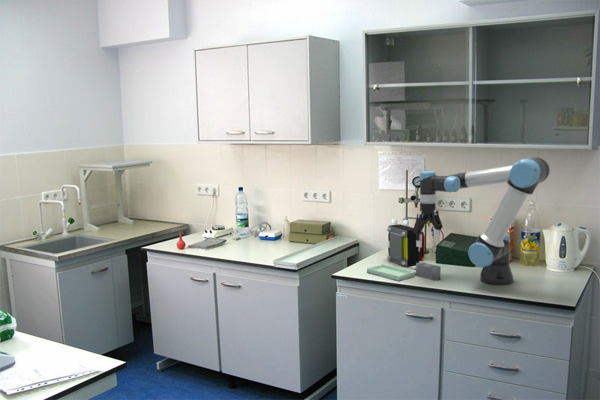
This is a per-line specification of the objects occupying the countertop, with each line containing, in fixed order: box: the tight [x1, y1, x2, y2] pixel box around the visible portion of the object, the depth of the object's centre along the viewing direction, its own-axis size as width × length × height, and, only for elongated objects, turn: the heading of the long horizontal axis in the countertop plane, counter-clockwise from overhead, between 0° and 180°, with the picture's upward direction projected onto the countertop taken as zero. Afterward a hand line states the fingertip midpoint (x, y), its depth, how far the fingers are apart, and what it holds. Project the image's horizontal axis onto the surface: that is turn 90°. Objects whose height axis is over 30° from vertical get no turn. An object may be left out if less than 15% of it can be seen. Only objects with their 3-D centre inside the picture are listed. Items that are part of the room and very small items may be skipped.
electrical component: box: [386, 223, 420, 268], centre depth 309 cm, size 18×10×20 cm, turn 25°
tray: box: [366, 263, 416, 282], centre depth 288 cm, size 22×12×2 cm, turn 39°
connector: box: [409, 261, 442, 281], centre depth 283 cm, size 17×5×6 cm, turn 39°
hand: (427, 244), depth 280 cm, fingers open, 13 cm apart
